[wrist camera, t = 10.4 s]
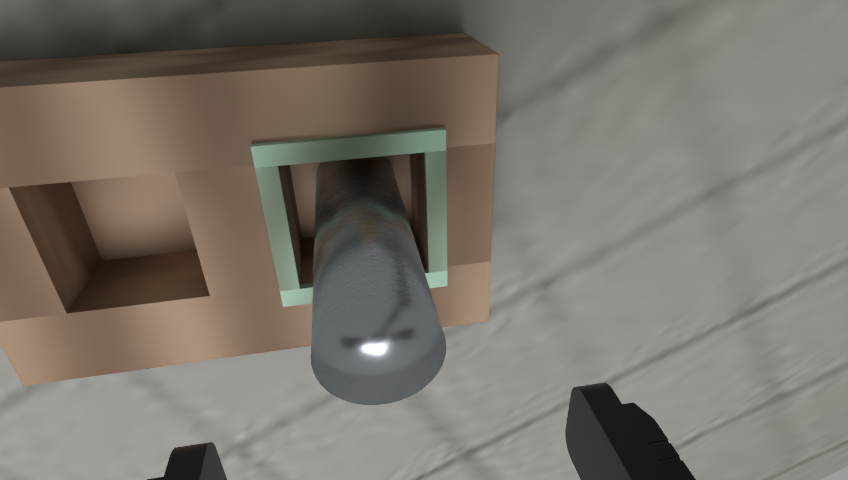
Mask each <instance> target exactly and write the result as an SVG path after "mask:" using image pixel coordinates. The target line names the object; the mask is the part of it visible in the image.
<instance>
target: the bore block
mask: <svg viewBox="0 0 848 480" xmlns="http://www.w3.org/2000/svg"><path fill="white" fill-rule="evenodd" d="M498 60H499V54H498V53H496V52H495V51H493V50H492V49H490V48H488V47H487V46H485V45H483V44H482V43H480V42H479V41H477V40H475V39H474V38H472V37H471V36H469V35H467V34H466V33H453V34H436V35H420V36H403V37H387V38H371V39H354V40H338V41H321V42H305V43H288V44H272V45H256V46H239V47H223V48H206V49H190V50H174V51H157V52H141V53H124V54H108V55H92V56H75V57H59V58H42V59H26V60H9V61H0V345H1V347H2V349H3V350H4V352H5V354H6V356H7V358H8V359H9V361H10V363H11V365H12V366H13V368H14V370H15V372H16V374H17V375H18V377H19V379H20V381H21V382H22V384H23V386H25V385H33V384H40V383H47V382H54V381H61V380H68V379H76V378H83V377H90V376H97V375H104V374H112V373H119V372H126V371H133V370H140V369H147V368H155V367H162V366H169V365H176V364H183V363H190V362H198V361H205V360H212V359H219V358H226V357H233V356H241V355H248V354H255V353H262V352H269V351H276V350H284V349H291V348H298V347H305V346H311V338H312V301H313V265H314V228H315V192H316V173H317V169H318V167H319V164H320V163H321V162H326V161H337V160H347V159H358V158H369V157H380V156H386V158H387V159H388V160H389V162H390V164H391V166H392V168H393V171H394V175H395V178H396V181H397V184H398V188H399V191H400V194H401V197H402V201H403V204H404V207H405V210H406V213H407V217H408V220H409V223H410V226H411V230H412V233H413V236H414V239H415V243H416V246H417V249H418V252H419V256H420V259H421V262H422V265H423V268H424V272H425V275H426V278H427V281H428V285H429V288H430V291H431V294H432V298H433V301H434V304H435V307H436V311H437V314H438V317H439V320H440V323H441V327H449V326H456V325H463V324H470V323H477V322H485V321H488V316H489V290H490V265H491V239H492V214H493V188H494V162H495V137H496V111H497V86H498Z"/></svg>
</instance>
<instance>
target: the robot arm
mask: <svg viewBox="0 0 848 480" xmlns="http://www.w3.org/2000/svg"><path fill="white" fill-rule="evenodd" d="M566 443H567V448H568V452H569V455H570V457H571V460H572V462H573V464H574V466H575V468H576V470H577V472H578V474H579V477H580V479H581V480H696V479H695V478H694V476H693V475H692V474H691V472H690V471H689V469H688V468H687V466H686V465H685V463H684V462H683V460H682V461H681V460H680V458H679V455H678V453H677V452H676V450H675V449H674V447H673V446H672V444H671V443H670V444H669V442H668V439H667V437H666V436H665V434H664V433H663V431H662V430H661V428H660V427H659V425H658V424H657V423H656V421H655V420H654V419H653V418H652V417H651V416H650V415H648V414H647V413H646V412H645V411H643V410H642V409H641V408H640V407H638V406H637V405H636V404H635V403H628V404H622V403H621V402H620V400H619V399H618V397H617V396H616V394H615V393H614V391H613V389H612V388H611V387H610V386H609V385H608V384H607V383H599V384H592V385H586V386H579V387H574V388H573V389H572V392H571V398H570V404H569V411H568V418H567V424H566ZM147 480H227V478H226V475H225V473H224V470H223V467H222V464H221V461H220V458H219V455H218V453H217V450H216V447H215V445H214V443H212V442H209V443H203V444H197V445H190V446H184V447H177V448H175V449H173V451H172V453H171V455H170V458H169V461H168V465H167V468H166V472H165V475H164V477H160V478H154V479H147Z"/></svg>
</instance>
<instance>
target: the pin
mask: <svg viewBox="0 0 848 480" xmlns="http://www.w3.org/2000/svg"><path fill="white" fill-rule="evenodd" d="M445 354H446V341H445V337H444V333H443V330H442V327H441V323H440V320H439V317H438V314H437V311H436V307H435V304H434V301H433V298H432V294H431V291H430V288H429V285H428V281H427V278H426V275H425V272H424V268H423V265H422V262H421V259H420V256H419V252H418V249H417V246H416V243H415V239H414V236H413V233H412V230H411V226H410V223H409V220H408V217H407V213H406V210H405V207H404V204H403V201H402V197H401V194H400V191H399V188H398V184H397V181H396V178H395V175H394V171H393V168H392V166H391V164H390V162H389V160H388V159H387V158H386V156H380V157H369V158H358V159H347V160H337V161H326V162H321V163H320V164H319V167H318V169H317V173H316V192H315V228H314V265H313V301H312V338H311V365H312V369H313V372H314V374H315V376H316V378H317V380H318V381H319V383H320V384H321V385H322V386H323V387H324V388H325V389H326V390H327V391H328V392H330V393H331V394H333V395H334V396H336V397H338V398H340V399H342V400H345V401H348V402H351V403H356V404H364V405H379V404H387V403H392V402H396V401H399V400H402V399H404V398H407V397H409V396H411V395H413V394H415V393H417V392H418V391H420V390H421V389H423V388H424V387H425V386H426V385H428V384H429V383H430V382H431V381H432V380H433V378H434V377H435V376H436V375H437V373H438V372H439V370H440V368H441V366H442V364H443V362H444V358H445Z"/></svg>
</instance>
